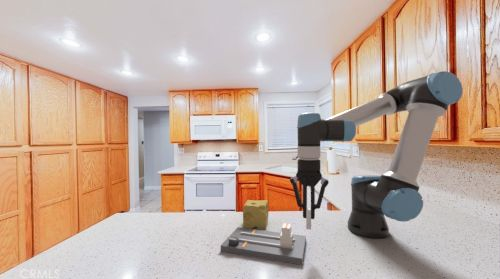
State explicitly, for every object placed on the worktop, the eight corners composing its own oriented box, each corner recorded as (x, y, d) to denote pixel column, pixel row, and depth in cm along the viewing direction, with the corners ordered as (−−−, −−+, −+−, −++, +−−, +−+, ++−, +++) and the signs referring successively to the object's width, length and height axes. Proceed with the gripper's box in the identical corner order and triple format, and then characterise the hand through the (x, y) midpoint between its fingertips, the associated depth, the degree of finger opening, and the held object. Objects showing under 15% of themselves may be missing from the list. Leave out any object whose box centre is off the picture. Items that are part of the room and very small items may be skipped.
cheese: (266, 230, 91) (265, 206, 91) (241, 228, 93) (241, 205, 93) (268, 220, 101) (268, 199, 101) (246, 219, 104) (246, 199, 104)
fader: (293, 240, 76) (293, 223, 76) (291, 246, 72) (291, 228, 72) (282, 239, 77) (281, 222, 77) (280, 244, 74) (279, 226, 74)
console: (305, 241, 81) (305, 231, 81) (302, 265, 65) (302, 253, 65) (237, 231, 89) (237, 223, 89) (220, 251, 74) (220, 240, 74)
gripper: (328, 158, 74) (328, 225, 74) (291, 157, 78) (291, 221, 78) (329, 160, 67) (329, 235, 67) (288, 159, 71) (288, 229, 71)
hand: (308, 227), depth 72 cm, fingers closed
